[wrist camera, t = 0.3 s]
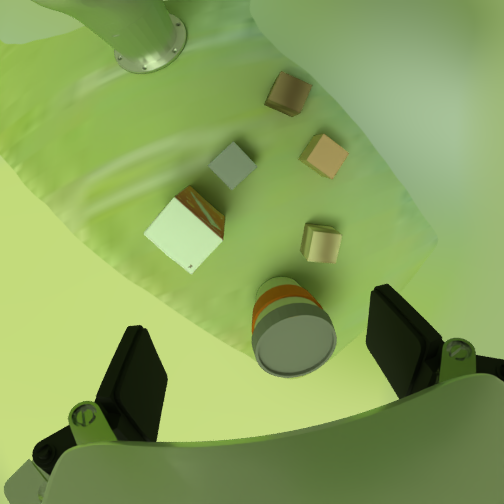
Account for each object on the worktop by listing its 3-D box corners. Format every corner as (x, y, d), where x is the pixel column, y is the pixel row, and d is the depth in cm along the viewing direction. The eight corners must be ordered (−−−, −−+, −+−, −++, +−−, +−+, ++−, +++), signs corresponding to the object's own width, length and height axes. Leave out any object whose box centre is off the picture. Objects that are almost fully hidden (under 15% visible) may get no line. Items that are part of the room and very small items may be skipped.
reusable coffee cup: (324, 284, 51) (354, 330, 37) (288, 333, 54) (305, 385, 40) (268, 255, 48) (284, 299, 34) (234, 310, 51) (237, 365, 37)
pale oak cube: (299, 250, 48) (307, 261, 43) (305, 223, 46) (313, 231, 42) (325, 253, 49) (335, 263, 44) (331, 226, 47) (342, 234, 42)
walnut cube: (263, 104, 39) (268, 98, 34) (275, 79, 37) (281, 71, 33) (292, 117, 40) (300, 113, 35) (303, 92, 38) (312, 85, 34)
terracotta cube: (297, 159, 42) (306, 160, 38) (313, 135, 41) (323, 133, 36) (321, 176, 44) (332, 179, 39) (337, 152, 42) (349, 153, 38)
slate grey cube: (209, 164, 42) (207, 165, 37) (232, 142, 41) (233, 141, 36) (231, 186, 43) (231, 190, 38) (254, 165, 42) (257, 166, 38)
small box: (225, 216, 45) (225, 241, 33) (200, 243, 46) (191, 276, 34) (189, 183, 42) (173, 195, 30) (164, 212, 43) (141, 235, 31)
